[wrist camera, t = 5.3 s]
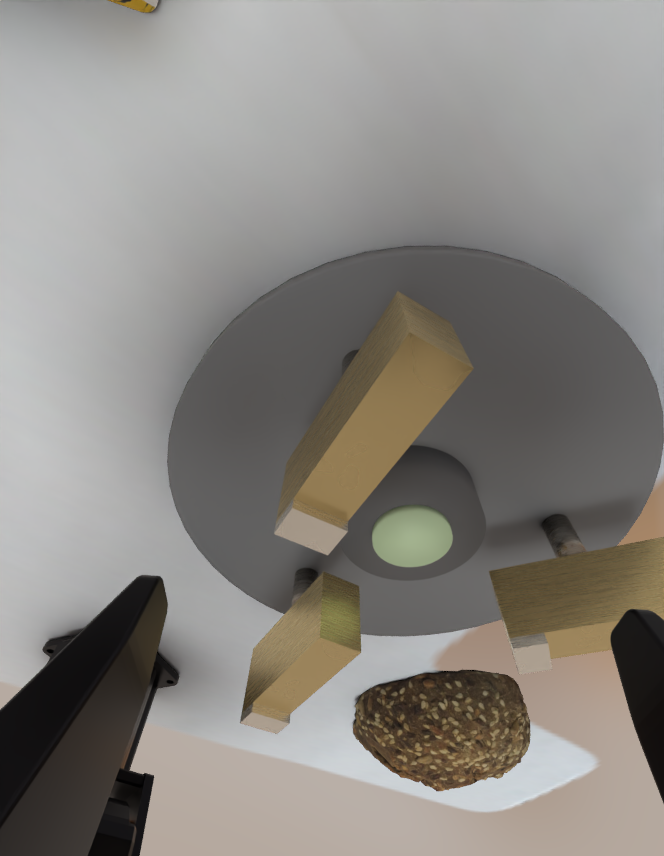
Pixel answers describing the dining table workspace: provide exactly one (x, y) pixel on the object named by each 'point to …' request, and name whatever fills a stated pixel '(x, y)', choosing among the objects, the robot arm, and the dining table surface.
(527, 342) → the levelling base
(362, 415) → the wooden plank block
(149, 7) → the medicine bottle
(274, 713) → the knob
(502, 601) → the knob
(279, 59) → the dining table surface
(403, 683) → the brown speckled lumpy part
